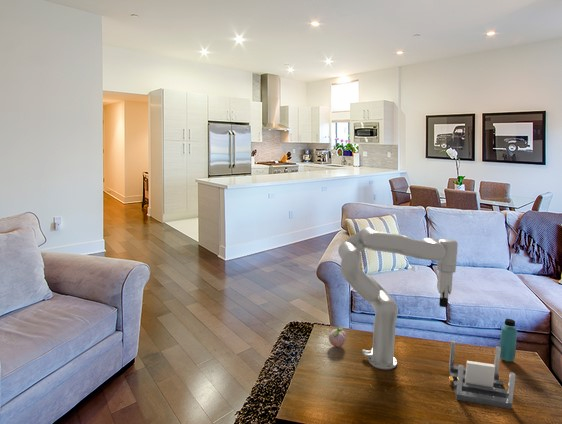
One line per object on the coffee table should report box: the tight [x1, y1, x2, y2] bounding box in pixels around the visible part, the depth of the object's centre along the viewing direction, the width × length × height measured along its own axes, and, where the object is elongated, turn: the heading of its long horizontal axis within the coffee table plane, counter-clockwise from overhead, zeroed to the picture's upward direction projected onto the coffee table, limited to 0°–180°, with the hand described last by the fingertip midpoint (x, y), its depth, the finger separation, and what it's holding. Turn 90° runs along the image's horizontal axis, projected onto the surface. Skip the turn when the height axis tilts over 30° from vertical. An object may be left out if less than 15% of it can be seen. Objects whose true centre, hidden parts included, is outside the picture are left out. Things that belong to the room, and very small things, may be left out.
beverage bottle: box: [498, 318, 518, 362], centre depth 170 cm, size 6×7×20 cm
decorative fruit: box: [328, 327, 347, 348], centre depth 182 cm, size 9×8×10 cm
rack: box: [448, 339, 516, 410], centre depth 151 cm, size 21×21×14 cm
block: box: [465, 360, 495, 387], centre depth 151 cm, size 10×2×10 cm, turn 73°
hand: (443, 306), depth 166 cm, fingers closed
